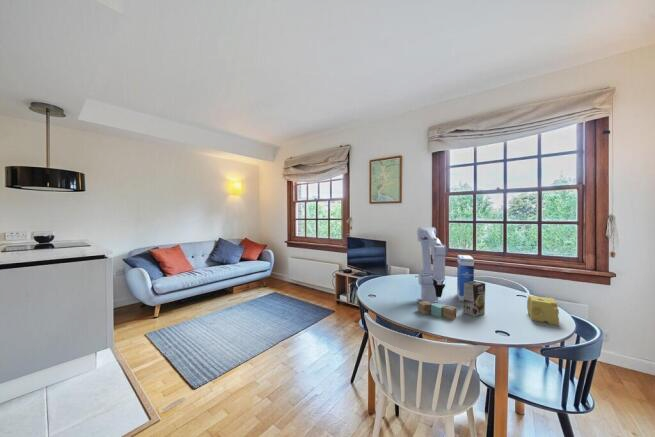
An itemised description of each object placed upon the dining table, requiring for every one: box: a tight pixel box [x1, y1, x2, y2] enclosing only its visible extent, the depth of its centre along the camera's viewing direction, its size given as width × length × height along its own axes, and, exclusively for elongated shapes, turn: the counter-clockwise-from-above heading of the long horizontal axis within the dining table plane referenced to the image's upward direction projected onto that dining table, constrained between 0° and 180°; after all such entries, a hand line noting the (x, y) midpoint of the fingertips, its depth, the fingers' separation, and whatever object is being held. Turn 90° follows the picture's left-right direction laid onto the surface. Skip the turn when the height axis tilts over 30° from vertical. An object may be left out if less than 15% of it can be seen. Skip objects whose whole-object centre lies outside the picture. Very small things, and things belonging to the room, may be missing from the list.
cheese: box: [526, 294, 560, 326], centre depth 123 cm, size 10×11×10 cm
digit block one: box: [417, 300, 433, 315], centre depth 131 cm, size 5×5×5 cm
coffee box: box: [462, 280, 486, 317], centre depth 129 cm, size 9×6×16 cm
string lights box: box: [456, 254, 475, 302], centre depth 151 cm, size 13×8×26 cm, turn 158°
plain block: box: [430, 302, 446, 318], centre depth 127 cm, size 5×5×5 cm
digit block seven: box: [442, 304, 457, 321], centre depth 125 cm, size 5×5×5 cm
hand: (438, 294), depth 127 cm, fingers open, 6 cm apart
